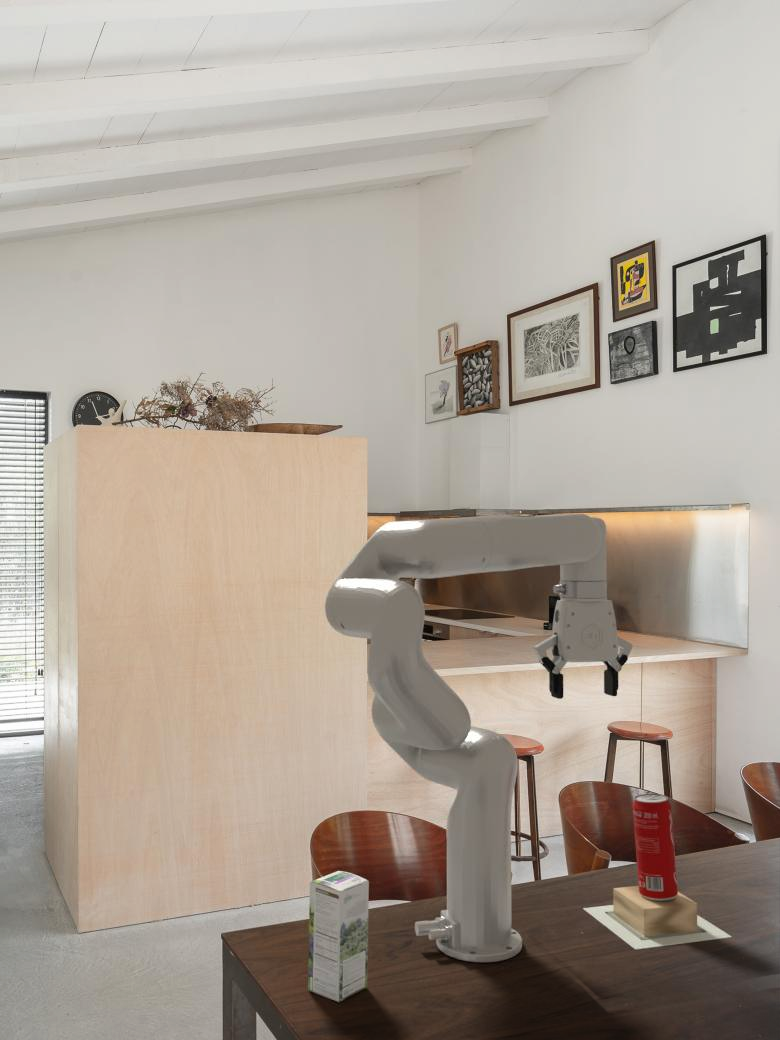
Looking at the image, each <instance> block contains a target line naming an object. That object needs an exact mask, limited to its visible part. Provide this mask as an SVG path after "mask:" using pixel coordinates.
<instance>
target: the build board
mask: <svg viewBox="0 0 780 1040" xmlns="http://www.w3.org/2000/svg"><path fill="white" fill-rule="evenodd" d="M582 909H583V910H584V911H585V912H586V913H587V914H589V915H590V916H592V917H593V918H594V919H595V920H597V921H598V922H599V923H600V924H602V925H603V926H604V927H606V928H607V929H608V930H609V931H611V932H612V933H613V934H615V935H616V936H617V937H618V938H620V939H621V940H623V942H625V943H626V944H628V946H630V947H631V948H633V949H634V950H636V951H637V950H642V949H650V948H658V947H665V946H673V945H674V946H675V945H680V944H682V945H683V944H690V943H697V942H705V941H713V940H720V939H728V938H732V935H730V934H729V933H727V932H725V931H724V930H722V929H720V928H719V927H717V926H716V925H714V924H712V923H711V922H709V921H708V920H706V919H705V918H703V917H702V916H700V915H698V914H697V930H695V931H687V932H679V933H671V934H663V935H655V936H647V937H644V936H642V935H641V934H640V933H638V932H637V931H636V930H634V929H633V928H631V927H630V926H629V925H627V924H626V923H625V922H623V921H622V920H621V919H619V918H618V917H617V916H615V915H614V912H613V904H608V905H600V906H599V905H598V906H592V907H583V908H582Z"/></svg>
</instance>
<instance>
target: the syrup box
mask: <svg viewBox="0 0 780 1040" xmlns="http://www.w3.org/2000/svg"><path fill="white" fill-rule="evenodd" d="M369 887H370V881H369V880H368V879H366V878H364V877H361V876H359V875H357V874H354V873H352V872H348V871H341V870H337V871H334V872H331V873H329V874H327V875H324V876H322V877H319V878H317V879H314V880H311V881H310V882H309V908H308V910H309V911H308V917H309V918H308V967H307V968H308V970H307V971H308V975H307V977H308V978H307V979H308V980H307V988H308V991H309V992H312V993H314V994H317V995H320V996H322V997H325V998H326V999H329V1000H333V1001H335V1002H338V1003H341V1002H342V1001H345V1000H346V999H348V998H350V997H351V996H354V995H355V994H357V993H358V992H361V991H363V990H364V989H367V987H368V966H369V965H368V963H369V961H368V960H369V959H368V957H369V956H368V954H369V953H368V952H369V900H370V899H369V896H370V895H369V894H370V893H369V890H370V888H369Z"/></svg>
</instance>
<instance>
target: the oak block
mask: <svg viewBox="0 0 780 1040" xmlns="http://www.w3.org/2000/svg"><path fill="white" fill-rule="evenodd" d="M612 891H613V893H612V894H613V895H612V896H613V897H612V898H613V899H612V900H613V904H612V905H613V912H614V915H615V916H617V917H618V918H619V919H621V920H622V921H623V922H625V923H626V924H627V925H629V926H630V927H631V928H633V929H634V930H636V931H637V932H638V933H640V934H641V935H642V936H644V937H647V936H655V935H663V934H671V933H679V932H687V931H695V930H697V915H698V903H697V902H696V901H694V900H692V899H691V898H689V897H687V895H685V894H683V893H681V892H680V891H678V894H677V895H676V897H675V898H673V899H671V900H666V901H655V900H649V899H646V898H644V897H642V895H641V894H640V893H639V885H633V886H622V887H614V888H613V890H612Z"/></svg>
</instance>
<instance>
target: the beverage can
mask: <svg viewBox="0 0 780 1040" xmlns="http://www.w3.org/2000/svg"><path fill="white" fill-rule="evenodd" d="M632 813H633V814H632V815H633V825H634V826H633V827H634V839H635V840H634V841H635V853H636V854H635V855H636V856H635V857H636V866H637V869H636V870H637V878H638V879H637V880H638V881H637V882H638V886H639V893H640V894H641V895H642V897H644V898H646V899H649V900H655V901H666V900H671V899H673V898H675V897H676V895H677V894H678V892H679V889H678V878H677V866H676V865H677V863H676V851H675V839H674V827H673V825H674V824H673V814H672V813H673V812H672V805H671V803H670V800H669V797H668V796H666V795H664V794H657V793H644V794H643V793H642V794H639V795H635V797H634V800H633V804H632Z"/></svg>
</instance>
